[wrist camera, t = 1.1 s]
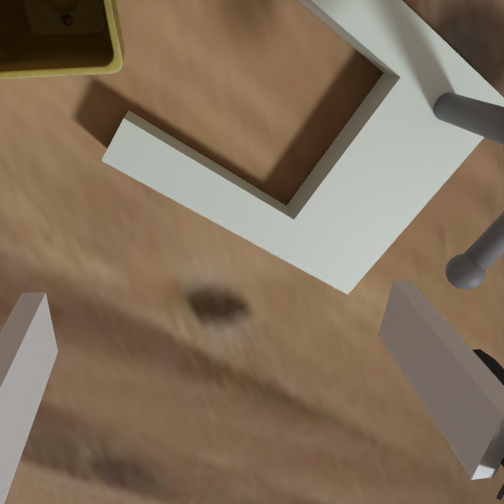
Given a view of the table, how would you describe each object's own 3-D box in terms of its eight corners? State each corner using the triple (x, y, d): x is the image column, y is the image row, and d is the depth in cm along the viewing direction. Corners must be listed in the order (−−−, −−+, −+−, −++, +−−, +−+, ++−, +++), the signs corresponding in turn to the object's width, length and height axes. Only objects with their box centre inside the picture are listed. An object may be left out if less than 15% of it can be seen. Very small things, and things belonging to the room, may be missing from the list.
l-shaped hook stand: (108, 149, 33) (44, 255, 18) (250, -123, 26) (336, -309, 11) (337, 277, 42) (421, 418, 27) (487, 99, 35) (707, 156, 20)
